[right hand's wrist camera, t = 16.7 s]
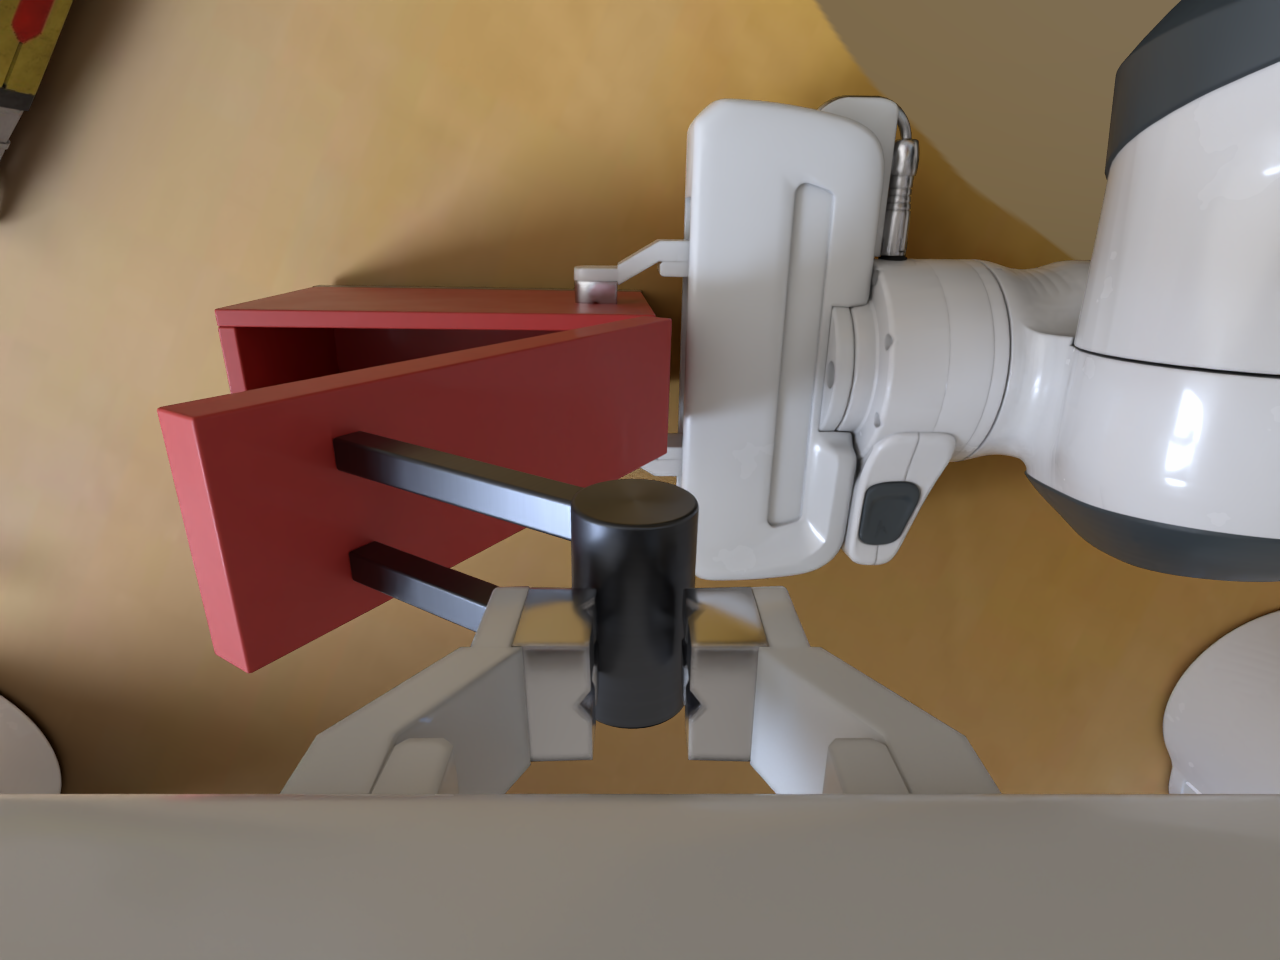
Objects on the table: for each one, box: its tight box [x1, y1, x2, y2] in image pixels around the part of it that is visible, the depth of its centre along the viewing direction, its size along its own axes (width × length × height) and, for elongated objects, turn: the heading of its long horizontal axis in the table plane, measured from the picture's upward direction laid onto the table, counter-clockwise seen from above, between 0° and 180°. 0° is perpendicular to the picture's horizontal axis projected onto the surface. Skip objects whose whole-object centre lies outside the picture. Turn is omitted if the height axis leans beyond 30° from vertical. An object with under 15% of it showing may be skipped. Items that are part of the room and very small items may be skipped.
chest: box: [215, 285, 656, 394], centre depth 30 cm, size 16×5×10 cm, turn 89°
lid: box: [157, 316, 699, 729], centre depth 17 cm, size 16×5×9 cm
